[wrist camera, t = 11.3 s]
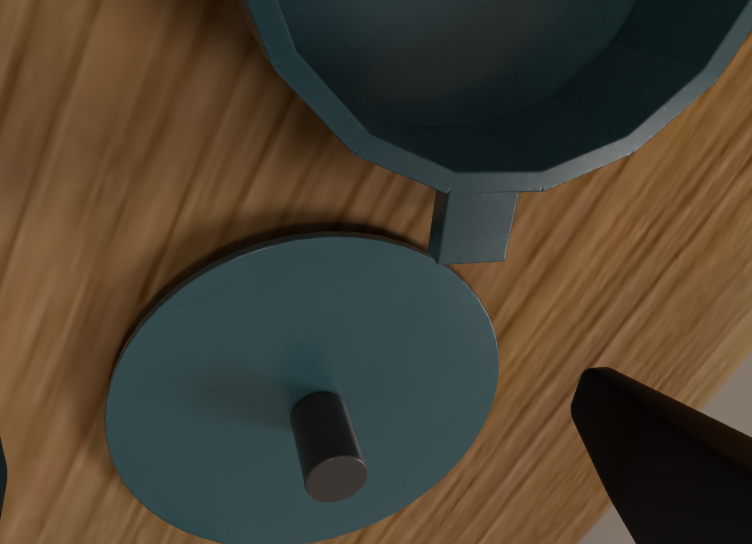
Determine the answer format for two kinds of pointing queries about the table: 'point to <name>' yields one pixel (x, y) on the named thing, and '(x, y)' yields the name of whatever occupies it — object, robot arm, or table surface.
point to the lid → (301, 389)
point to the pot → (495, 90)
